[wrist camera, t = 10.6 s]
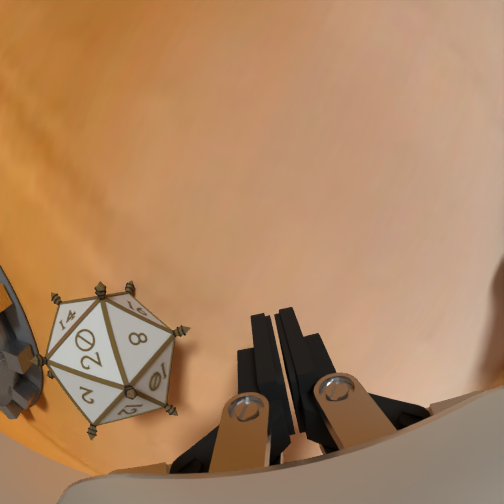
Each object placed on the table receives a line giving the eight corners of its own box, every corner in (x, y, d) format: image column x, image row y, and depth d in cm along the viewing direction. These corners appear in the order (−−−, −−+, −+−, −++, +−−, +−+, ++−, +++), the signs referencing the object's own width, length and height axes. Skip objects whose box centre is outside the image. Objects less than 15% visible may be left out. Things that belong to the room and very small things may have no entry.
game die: (121, 291, 21) (3, 275, 12) (213, 274, 18) (67, 242, 9) (133, 404, 19) (19, 427, 10) (229, 417, 16) (98, 484, 7)
